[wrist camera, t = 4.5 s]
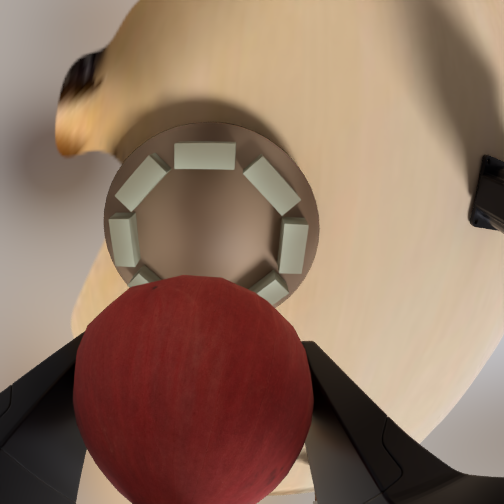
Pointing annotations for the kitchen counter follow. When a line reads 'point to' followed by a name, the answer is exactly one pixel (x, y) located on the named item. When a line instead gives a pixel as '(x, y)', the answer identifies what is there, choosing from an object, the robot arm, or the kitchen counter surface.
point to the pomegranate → (192, 393)
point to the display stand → (212, 211)
